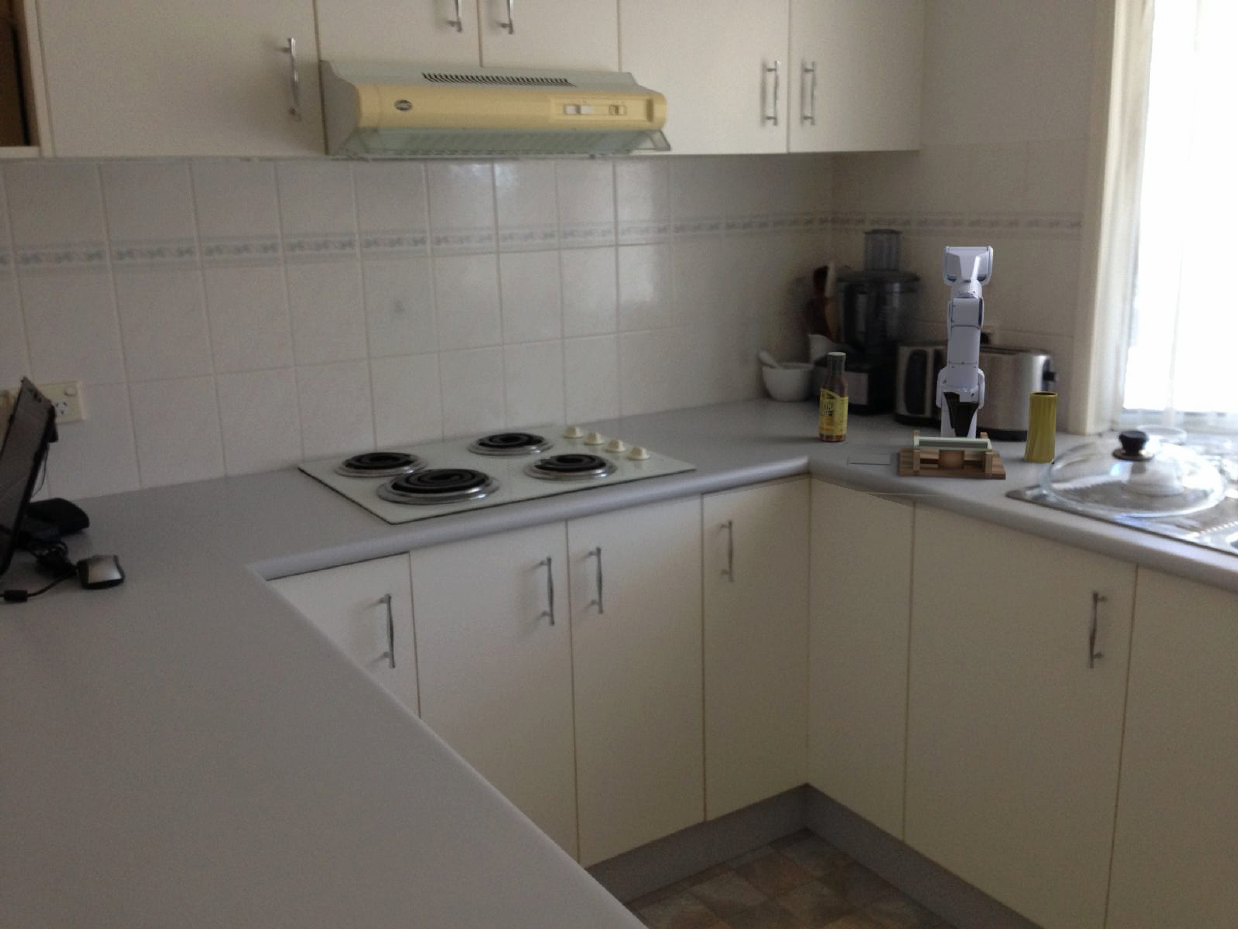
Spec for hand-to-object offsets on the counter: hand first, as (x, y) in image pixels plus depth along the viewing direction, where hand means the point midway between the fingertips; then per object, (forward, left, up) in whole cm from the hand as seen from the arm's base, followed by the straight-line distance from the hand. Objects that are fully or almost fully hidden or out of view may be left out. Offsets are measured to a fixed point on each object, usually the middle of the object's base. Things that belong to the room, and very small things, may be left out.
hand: (959, 432), depth 220 cm
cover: (-9, -1, -5) cm, 10 cm away
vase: (-21, +17, -10) cm, 29 cm away
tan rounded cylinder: (-9, -1, -10) cm, 13 cm away
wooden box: (-13, -1, -10) cm, 16 cm away
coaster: (-15, -17, -10) cm, 24 cm away
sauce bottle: (-35, -26, -10) cm, 44 cm away
